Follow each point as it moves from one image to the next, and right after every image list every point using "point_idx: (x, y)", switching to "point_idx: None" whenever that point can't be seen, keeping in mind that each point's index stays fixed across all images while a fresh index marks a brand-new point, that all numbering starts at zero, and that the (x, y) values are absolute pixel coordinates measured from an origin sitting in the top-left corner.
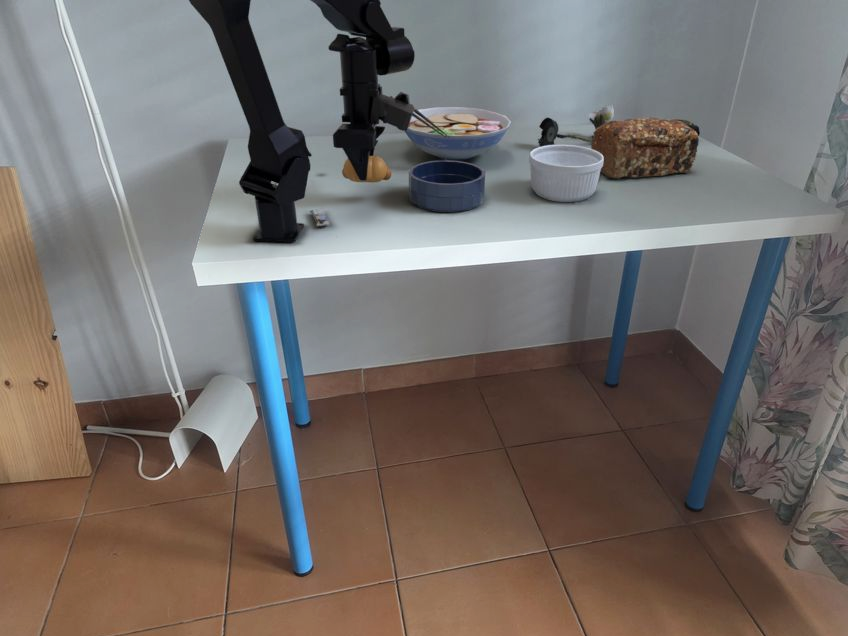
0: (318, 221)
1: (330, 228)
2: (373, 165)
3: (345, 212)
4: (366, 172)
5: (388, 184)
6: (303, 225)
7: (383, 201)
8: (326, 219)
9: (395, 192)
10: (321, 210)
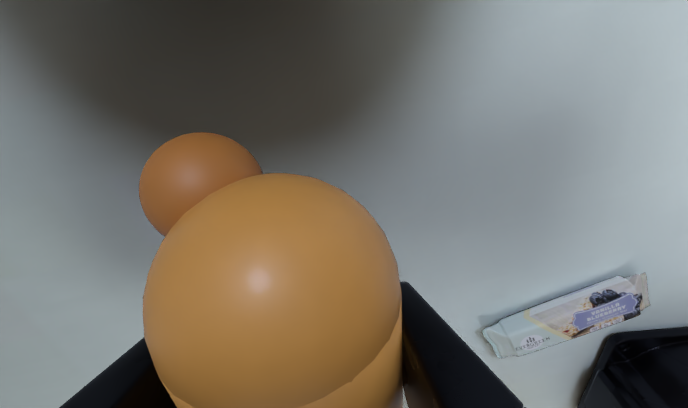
0: (638, 312)
1: (637, 260)
2: (385, 327)
3: (467, 255)
4: (444, 323)
5: (38, 169)
6: (634, 339)
7: (301, 133)
8: (632, 295)
9: (137, 100)
10: (530, 332)
